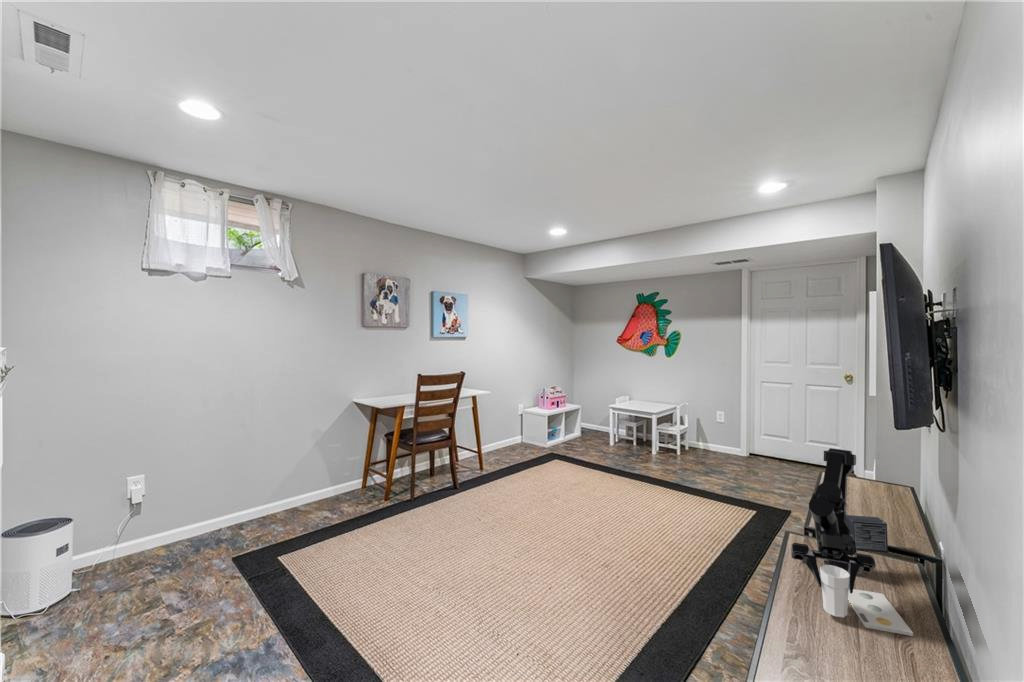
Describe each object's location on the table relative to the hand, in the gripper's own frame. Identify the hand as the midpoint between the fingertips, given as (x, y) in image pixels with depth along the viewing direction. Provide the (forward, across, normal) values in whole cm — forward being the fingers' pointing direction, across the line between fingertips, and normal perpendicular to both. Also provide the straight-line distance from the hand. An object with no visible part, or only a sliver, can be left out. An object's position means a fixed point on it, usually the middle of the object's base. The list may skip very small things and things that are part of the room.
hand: (835, 589), depth 116 cm
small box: (-31, +18, +44) cm, 57 cm away
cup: (+4, 0, +6) cm, 7 cm away
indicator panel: (-1, +10, +12) cm, 16 cm away
